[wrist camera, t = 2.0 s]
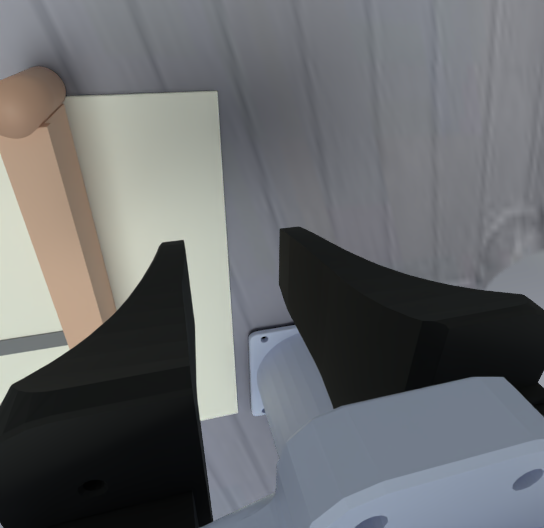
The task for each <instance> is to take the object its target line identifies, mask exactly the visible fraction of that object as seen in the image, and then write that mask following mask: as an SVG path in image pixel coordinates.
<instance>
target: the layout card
mask: <svg viewBox="0 0 544 528" xmlns="http://www.w3.org/2000/svg"><path fill="white" fill-rule="evenodd" d="M62 104H64V106H65V110H66V114H67V118H68V122H69V126H70V130H71V134H72V138H73V142H74V146H75V150H76V154H77V158H78V162H79V165H80V169H81V173H82V177H83V181H84V185H85V189H86V193H87V197H88V201H89V205H90V209H91V213H92V217H93V221H94V225H95V228H96V232H97V236H98V240H99V244H100V248H101V252H102V256H103V260H104V264H105V268H106V272H107V276H108V280H109V284H110V288H111V291H112V295H113V299H114V303H115V307H116V311H117V310H118V309H119V308H120V307H121V305H122V304H123V303H124V302H125V301H126V300H127V298H128V297H129V296H130V294H131V293H132V292H133V290H134V289H135V288H136V286H137V285H138V283H139V282H140V281H141V279H142V278H143V276H144V274H145V273H146V271H147V269H148V268H149V266H150V264H151V262H152V261H153V259H154V257H155V255H156V252H157V250H158V247H159V246H160V244H161V243H162V242H170V241H178V240H184V243H185V249H186V257H187V265H188V273H189V281H190V289H191V297H192V305H193V313H194V320H195V342H196V383H197V399H198V407H199V415H200V421H202V420H207V419H212V418H217V417H221V416H226V415H231V414H235V413H238V407H237V391H236V376H235V360H234V344H233V328H232V313H231V297H230V281H229V265H228V250H227V234H226V218H225V202H224V187H223V171H222V155H221V139H220V124H219V108H218V92H217V91H196V92H169V93H141V94H113V95H85V96H65V100H64V102H63V103H62ZM69 350H70V349H69V346H68V343H67V341H66V338H65V335H64V332H63V329H62V326H61V324H60V321H59V318H58V315H57V312H56V309H55V307H54V304H53V301H52V298H51V295H50V293H49V290H48V287H47V284H46V281H45V278H44V276H43V273H42V270H41V267H40V264H39V261H38V259H37V256H36V253H35V250H34V247H33V245H32V242H31V239H30V236H29V233H28V230H27V228H26V225H25V222H24V219H23V216H22V213H21V211H20V208H19V205H18V202H17V199H16V196H15V194H14V191H13V188H12V185H11V182H10V180H9V177H8V174H7V171H6V168H5V165H4V163H3V160H2V157H1V154H0V405H1V403H2V401H3V399H4V398H5V396H6V394H7V392H8V390H9V388H10V386H11V385H12V384H14V383H16V382H17V381H19V380H21V379H23V378H25V377H26V376H28V375H30V374H32V373H33V372H35V371H37V370H39V369H40V368H42V367H44V366H45V365H47V364H49V363H51V362H52V361H54V360H55V359H57V358H58V357H60V356H62V355H63V354H64V353H66V352H67V351H69Z"/></svg>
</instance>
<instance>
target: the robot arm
mask: <svg viewBox="0 0 544 528" xmlns="http://www.w3.org/2000/svg"><path fill="white" fill-rule="evenodd" d="M279 286H280V289H281V292H282V295H283V298H284V301H285V304H286V307H287V309H288V311H289V313H290V315H291V317H292V319H293V321H294V323H295V325H291V326H285V327H279V328H273V329H268V330H262V331H256V332H253V333H251V334H250V335H249V338H248V342H249V369H250V396H251V412H252V415H254V416H261V415H265V414H266V416H267V420H268V423H269V426H270V430H271V433H272V437H273V440H274V443H275V447H276V450H277V454H278V457H279V461H278V463H277V476H276V491H275V493H273V494H271V495H269V496H266V497H264V498H262V499H260V500H258V501H256V502H254V503H252V504H249V505H247V506H245V507H243V508H241V509H239V510H237V511H235V512H232V513H230V514H228V515H226V516H224V517H222V518H220V519H218V520H215V521H213V516H212V508H211V501H210V493H209V485H208V477H207V470H206V462H205V454H204V446H203V439H202V431H201V423H200V415H199V407H198V399H197V383H196V342H195V320H194V313H193V305H192V297H191V289H190V281H189V273H188V265H187V257H186V249H185V243H184V240H178V241H170V242H162V243H161V244H160V246H159V247H158V250H157V252H156V255H155V257H154V259H153V261H152V262H151V264H150V266H149V268H148V269H147V271H146V273H145V274H144V276H143V278H142V279H141V281H140V282H139V283H138V285H137V286H136V288H135V289H134V290H133V292H132V293H131V294H130V296H129V297H128V298H127V300H126V301H125V302H124V303H123V304H122V305H121V307H120V308H119V309H118V310H117V311H116V312H115V313H114V314H113V315H112V316H111V317H110V318H109V319H108V320H107V321H105V322H104V323H103V324H102V325H101V326H100V327H99V328H97V329H96V330H95V331H94V332H93V333H92V334H90V335H89V336H88V337H87V338H85V339H84V340H83V341H81V342H80V343H79V344H77V345H76V346H75V347H73V348H72V349H70V350H69V351H67V352H66V353H64V354H63V355H62V356H60V357H58V358H57V359H55V360H54V361H52V362H51V363H49V364H47V365H45V366H44V367H42V368H40V369H39V370H37V371H35V372H33V373H32V374H30V375H28V376H26V377H25V378H23V379H21V380H19V381H17V382H16V383H14V384H12V385H11V386H10V388H9V390H8V392H7V394H6V396H5V398H4V399H3V401H2V403H1V405H0V523H1V525H2V526H3V528H544V388H543V387H542V386H541V385H540V384H539V383H538V381H539V379H540V377H541V375H542V373H543V371H544V310H543V309H542V308H541V307H539V306H538V305H537V304H536V303H534V302H533V301H532V300H530V299H529V298H527V297H526V296H525V295H522V294H512V293H503V292H493V291H485V290H476V289H470V288H464V287H459V286H453V285H448V284H443V283H438V282H434V281H430V280H426V279H422V278H418V277H414V276H410V275H407V274H404V273H400V272H398V271H395V270H392V269H389V268H386V267H383V266H380V265H378V264H375V263H373V262H370V261H368V260H366V259H364V258H361V257H359V256H357V255H355V254H353V253H350V252H348V251H346V250H344V249H342V248H340V247H338V246H336V245H335V244H333V243H331V242H329V241H327V240H325V239H323V238H321V237H319V236H318V235H316V234H314V233H312V232H310V231H308V230H306V229H304V228H301V227H291V228H283V229H280V250H279ZM264 336H266V338H264V339H261V338H262V337H264Z"/></svg>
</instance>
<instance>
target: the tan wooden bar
mask: <svg viewBox="0 0 544 528" xmlns="http://www.w3.org/2000/svg"><path fill="white" fill-rule="evenodd" d="M65 96H66V90H65V86H64V83H63V81H62V80H61V78H60V77H59V76H58V75H57V74H56V73H55V72H53V71H52V70H50V69H48V68H45V67H41V66H36V67H31V68H29V69H27V70H24V71H22V72H19V73H17V74H15V75H12V76H10V77H8V78H5V79H3V80H0V154H1V157H2V160H3V163H4V165H5V168H6V171H7V174H8V177H9V180H10V182H11V185H12V188H13V191H14V194H15V196H16V199H17V202H18V205H19V208H20V211H21V213H22V216H23V219H24V222H25V225H26V228H27V230H28V233H29V236H30V239H31V242H32V245H33V247H34V250H35V253H36V256H37V259H38V261H39V264H40V267H41V270H42V273H43V276H44V278H45V281H46V284H47V287H48V290H49V293H50V295H51V298H52V301H53V304H54V307H55V309H56V312H57V315H58V318H59V321H60V324H61V326H62V329H63V332H64V335H65V338H66V341H67V343H68V346H69V349H72V348H73V347H75V346H76V345H77V344H79V343H80V342H81V341H83V340H84V339H85V338H87V337H88V336H89V335H90V334H92V333H93V332H94V331H95V330H96V329H97V328H99V327H100V326H101V325H102V324H103V323H104V322H105V321H107V320H108V319H109V318H110V317H111V316H112V315H113V314H114V313H115V312H116V307H115V303H114V299H113V295H112V291H111V288H110V284H109V280H108V276H107V272H106V268H105V264H104V260H103V256H102V252H101V248H100V244H99V240H98V236H97V232H96V228H95V225H94V221H93V217H92V213H91V209H90V205H89V201H88V197H87V193H86V189H85V185H84V181H83V177H82V173H81V169H80V165H79V162H78V158H77V154H76V150H75V146H74V142H73V138H72V134H71V130H70V126H69V122H68V118H67V114H66V110H65V106H64V104H62V103H63V102H64V100H65Z"/></svg>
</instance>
